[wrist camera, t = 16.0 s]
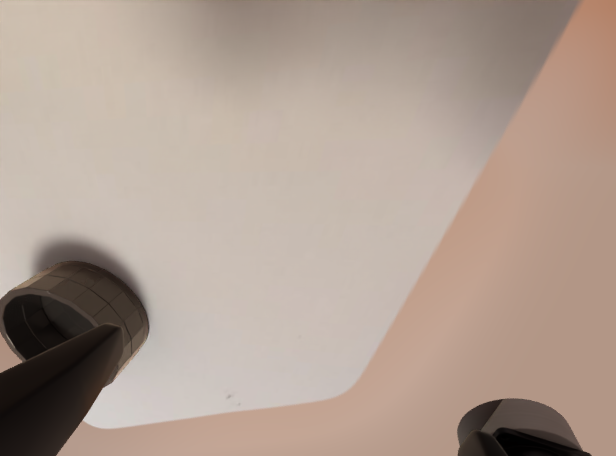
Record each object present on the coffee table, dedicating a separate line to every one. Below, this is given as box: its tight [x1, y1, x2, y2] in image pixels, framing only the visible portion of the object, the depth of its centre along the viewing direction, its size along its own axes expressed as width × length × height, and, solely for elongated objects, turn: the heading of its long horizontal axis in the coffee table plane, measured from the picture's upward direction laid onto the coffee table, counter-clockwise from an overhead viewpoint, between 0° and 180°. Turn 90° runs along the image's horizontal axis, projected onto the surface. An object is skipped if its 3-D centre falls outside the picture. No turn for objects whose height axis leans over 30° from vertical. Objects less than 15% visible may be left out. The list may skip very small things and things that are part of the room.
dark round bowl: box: [0, 261, 148, 388], centre depth 25 cm, size 9×9×4 cm
